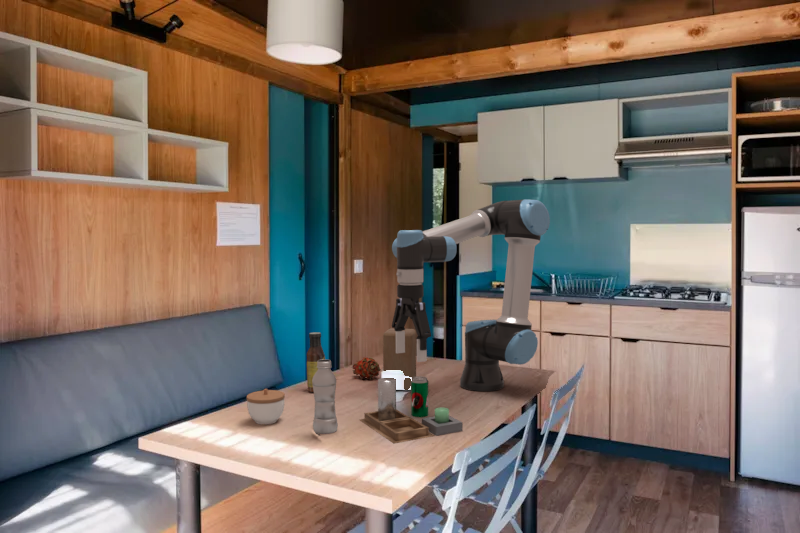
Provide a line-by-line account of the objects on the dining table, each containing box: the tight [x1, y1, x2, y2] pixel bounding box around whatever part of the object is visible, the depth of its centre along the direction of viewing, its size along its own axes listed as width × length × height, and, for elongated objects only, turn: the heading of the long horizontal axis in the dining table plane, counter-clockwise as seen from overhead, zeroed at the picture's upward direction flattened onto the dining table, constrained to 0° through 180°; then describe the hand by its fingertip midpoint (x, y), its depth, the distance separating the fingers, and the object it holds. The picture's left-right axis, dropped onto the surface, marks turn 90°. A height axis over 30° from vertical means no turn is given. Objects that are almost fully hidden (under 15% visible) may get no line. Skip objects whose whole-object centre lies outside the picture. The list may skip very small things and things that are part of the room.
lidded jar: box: [246, 388, 286, 425], centre depth 176 cm, size 11×11×9 cm
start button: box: [434, 406, 450, 424], centre depth 165 cm, size 4×4×3 cm
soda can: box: [410, 375, 430, 418], centre depth 178 cm, size 5×5×12 cm
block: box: [382, 327, 417, 390], centre depth 213 cm, size 10×10×20 cm
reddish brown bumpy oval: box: [352, 356, 381, 380], centre depth 227 cm, size 8×8×12 cm
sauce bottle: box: [306, 331, 326, 393], centre depth 209 cm, size 7×6×20 cm
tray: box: [359, 408, 435, 444], centre depth 167 cm, size 12×22×3 cm, turn 27°
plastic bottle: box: [312, 358, 339, 436], centre depth 164 cm, size 6×7×20 cm
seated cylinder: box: [377, 377, 397, 421], centre depth 171 cm, size 5×5×12 cm
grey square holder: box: [421, 415, 464, 437], centre depth 165 cm, size 8×8×4 cm
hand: (410, 357), depth 177 cm, fingers open, 13 cm apart
